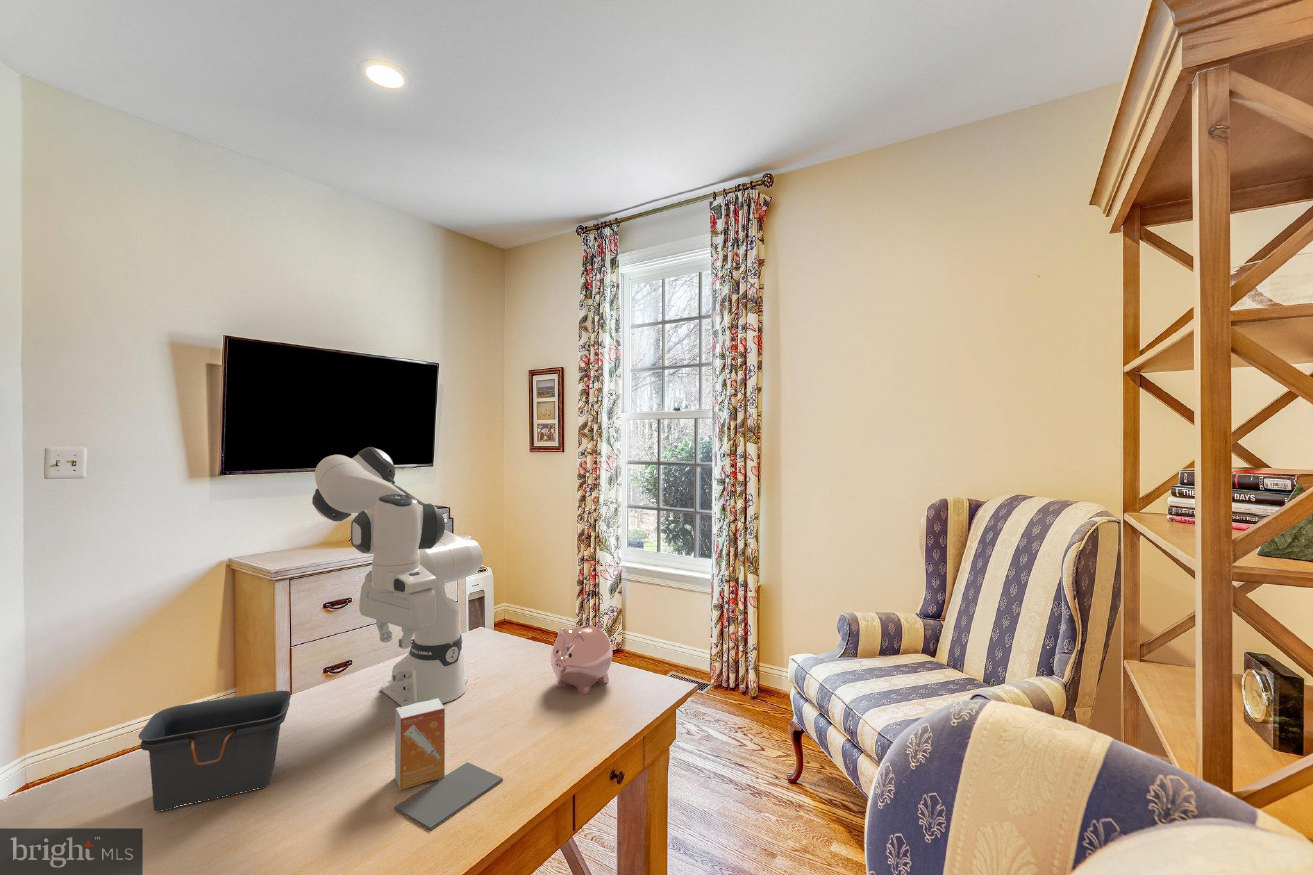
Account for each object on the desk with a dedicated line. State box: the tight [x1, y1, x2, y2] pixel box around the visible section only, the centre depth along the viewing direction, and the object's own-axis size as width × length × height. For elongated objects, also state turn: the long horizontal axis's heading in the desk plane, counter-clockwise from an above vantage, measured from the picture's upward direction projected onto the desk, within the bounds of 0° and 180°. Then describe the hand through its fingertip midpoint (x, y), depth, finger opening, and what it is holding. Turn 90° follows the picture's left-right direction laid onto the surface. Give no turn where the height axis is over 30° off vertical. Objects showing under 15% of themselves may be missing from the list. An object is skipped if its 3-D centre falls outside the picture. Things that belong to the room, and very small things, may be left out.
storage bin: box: [137, 690, 292, 812], centre depth 101 cm, size 21×16×14 cm
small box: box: [394, 698, 446, 791], centre depth 106 cm, size 8×6×13 cm
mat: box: [393, 761, 504, 831], centre depth 101 cm, size 10×16×1 cm, turn 149°
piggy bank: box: [550, 621, 613, 696], centre depth 148 cm, size 15×18×16 cm
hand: (395, 644), depth 110 cm, fingers open, 5 cm apart
